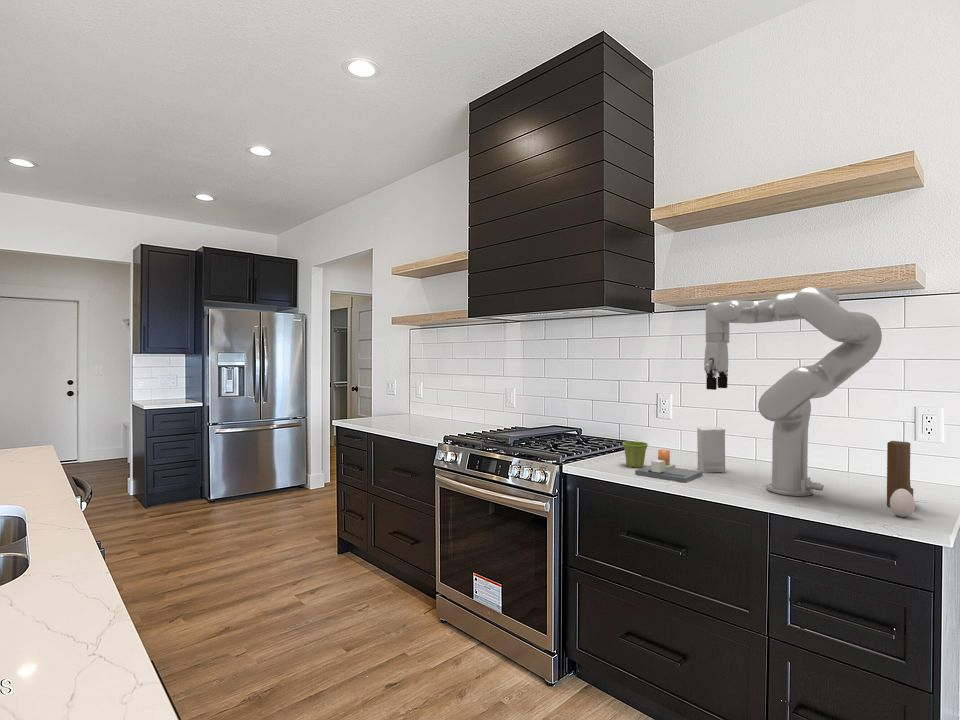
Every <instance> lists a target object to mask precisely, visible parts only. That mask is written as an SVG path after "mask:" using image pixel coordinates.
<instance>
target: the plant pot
mask: <svg viewBox="0 0 960 720" xmlns="http://www.w3.org/2000/svg"><path fill="white" fill-rule="evenodd" d="M622 446H623V449H624V455H625V463H626V464H625V465H626V467H628V466H629V468H635V467H641V468H644V465H645V460H646V459H645V458H646V452H647V449H648V448H647V447H648V446H649V443H648V442H643V441H637V440H635V441H631V440H630V441H623V442H622Z"/></svg>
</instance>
